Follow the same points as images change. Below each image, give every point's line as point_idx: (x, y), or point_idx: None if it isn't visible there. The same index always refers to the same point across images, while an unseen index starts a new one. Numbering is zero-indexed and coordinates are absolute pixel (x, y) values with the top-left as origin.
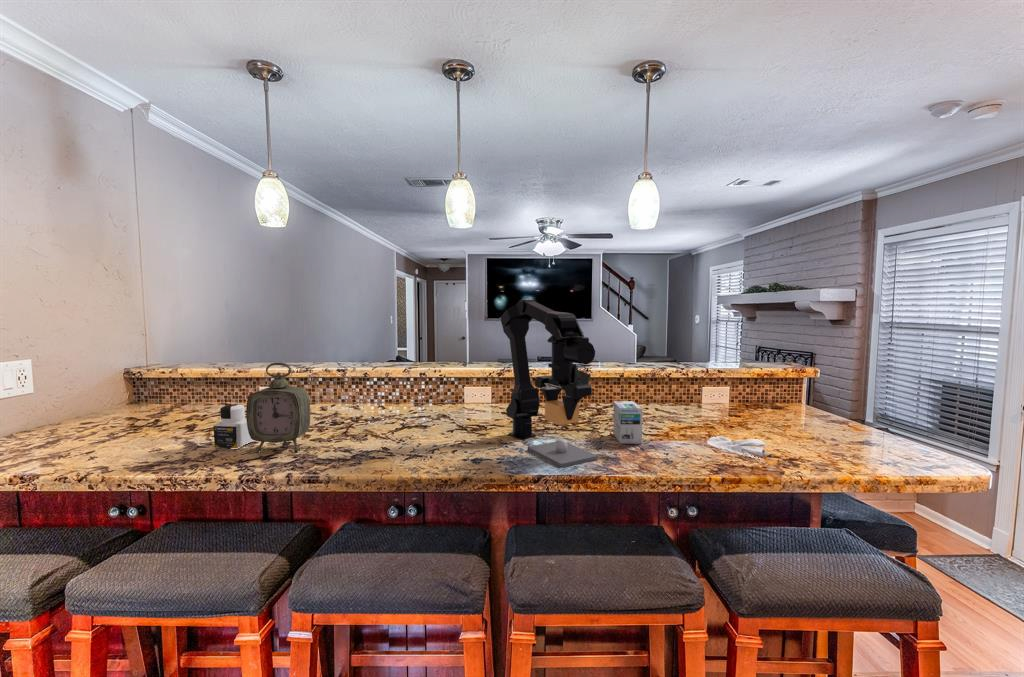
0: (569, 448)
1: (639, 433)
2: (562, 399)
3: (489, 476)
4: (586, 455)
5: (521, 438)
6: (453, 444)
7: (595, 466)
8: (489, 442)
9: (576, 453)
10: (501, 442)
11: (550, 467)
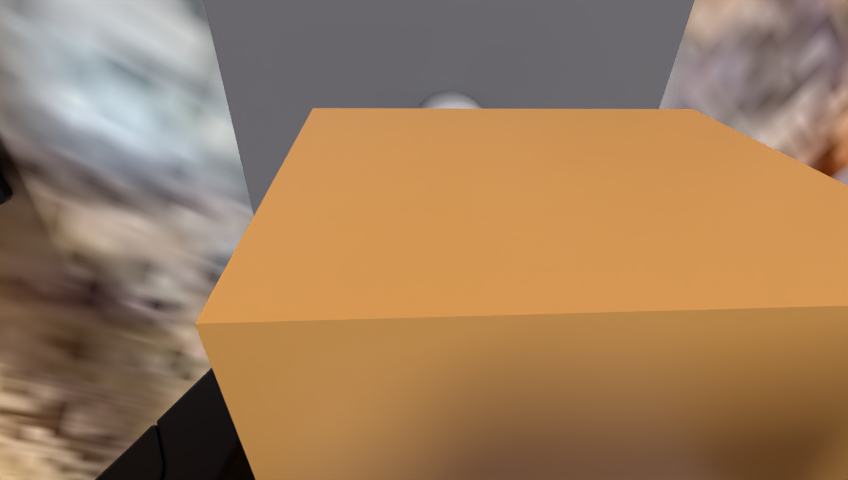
0: (430, 36)
1: None
2: (227, 389)
3: None
4: (633, 28)
5: (2, 177)
6: (72, 451)
7: (743, 67)
8: (60, 343)
9: (552, 68)
10: (70, 298)
11: None
